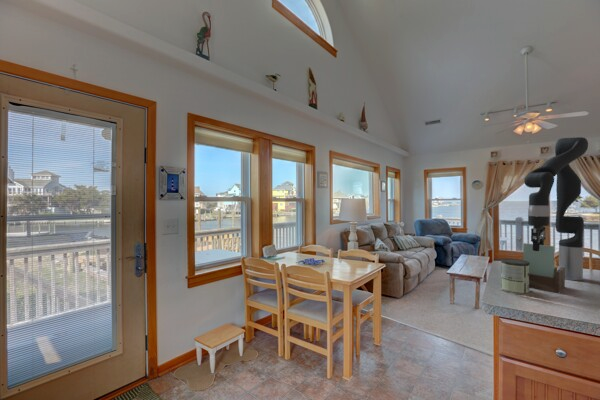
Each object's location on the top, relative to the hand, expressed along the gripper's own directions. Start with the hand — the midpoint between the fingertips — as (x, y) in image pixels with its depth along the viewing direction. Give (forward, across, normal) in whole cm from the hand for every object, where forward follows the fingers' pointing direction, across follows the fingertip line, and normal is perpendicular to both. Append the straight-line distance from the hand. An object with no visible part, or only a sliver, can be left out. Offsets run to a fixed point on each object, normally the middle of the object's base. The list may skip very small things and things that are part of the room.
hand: (538, 249), depth 129 cm
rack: (+19, -4, 0) cm, 19 cm away
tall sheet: (+18, 0, 0) cm, 18 cm away
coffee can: (+19, +12, -6) cm, 23 cm away
